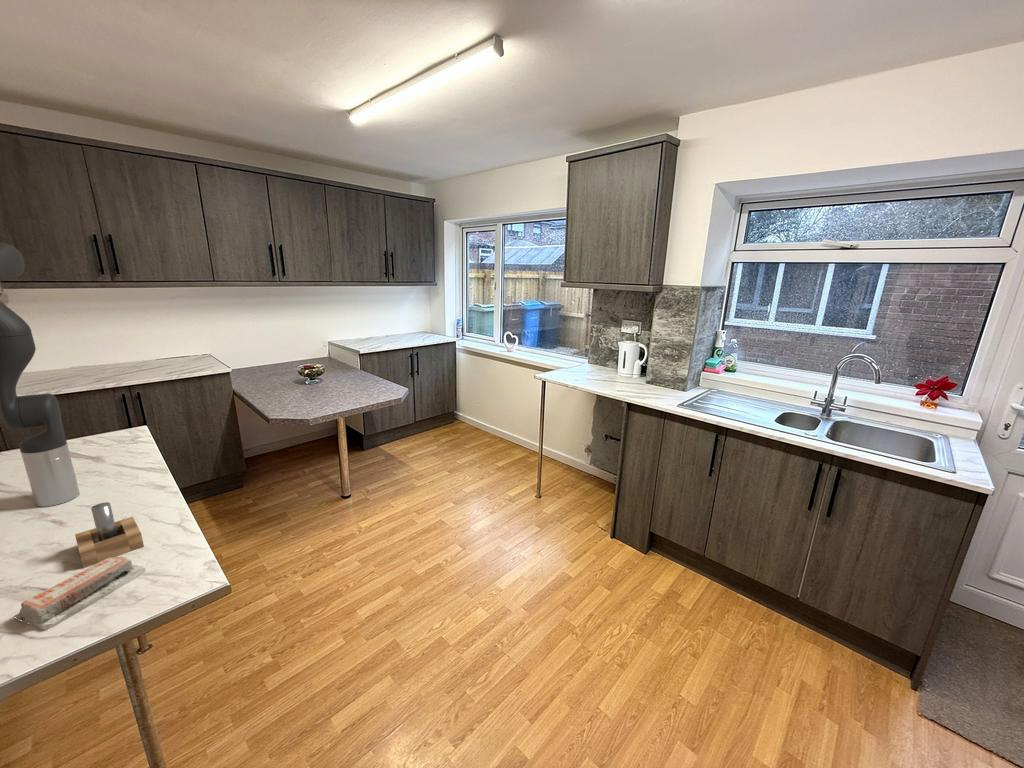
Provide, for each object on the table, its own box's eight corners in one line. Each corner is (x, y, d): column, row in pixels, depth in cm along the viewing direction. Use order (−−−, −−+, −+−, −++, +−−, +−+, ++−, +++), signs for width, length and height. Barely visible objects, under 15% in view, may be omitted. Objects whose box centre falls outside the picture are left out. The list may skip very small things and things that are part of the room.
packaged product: (41, 613, 79) (7, 601, 82) (47, 633, 81) (14, 621, 83) (143, 555, 96) (113, 547, 99) (147, 572, 97) (117, 564, 100)
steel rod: (100, 547, 105) (90, 506, 102) (118, 541, 107) (109, 500, 104) (102, 553, 103) (92, 511, 100) (120, 547, 105) (111, 505, 102)
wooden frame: (78, 548, 104) (74, 534, 103) (135, 529, 113) (132, 516, 112) (83, 568, 98) (79, 553, 97) (144, 546, 106) (141, 533, 105)
